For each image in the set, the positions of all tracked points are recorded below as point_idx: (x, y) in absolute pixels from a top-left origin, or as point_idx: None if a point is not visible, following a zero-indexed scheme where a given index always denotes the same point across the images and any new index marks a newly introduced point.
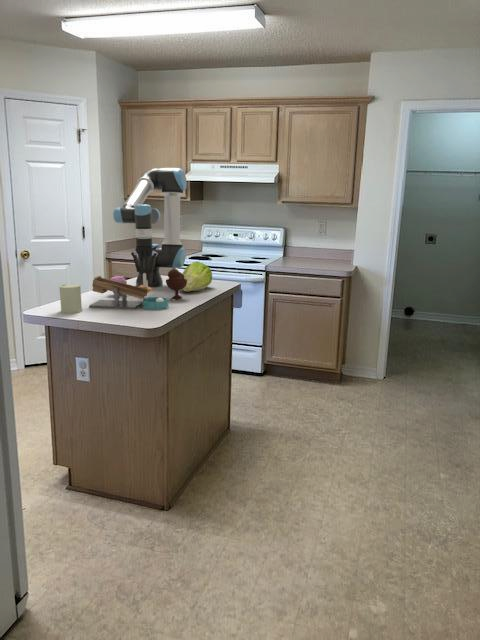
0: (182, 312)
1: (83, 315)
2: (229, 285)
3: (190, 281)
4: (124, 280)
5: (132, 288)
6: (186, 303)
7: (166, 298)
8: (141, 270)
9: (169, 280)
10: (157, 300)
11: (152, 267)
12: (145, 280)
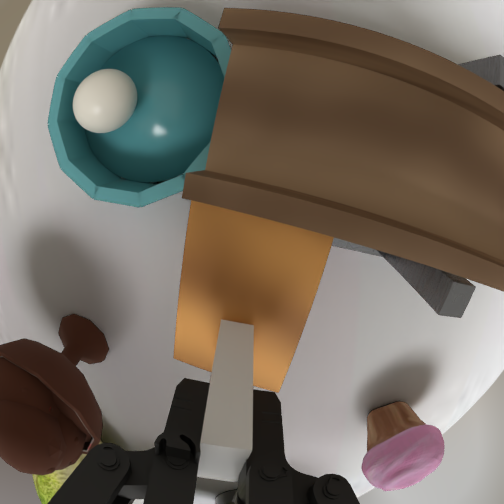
0: (28, 19)
1: (499, 4)
2: None
3: None
4: (380, 467)
5: (369, 213)
6: (14, 221)
7: (59, 153)
8: (274, 498)
9: (71, 421)
10: (113, 72)
11: (53, 497)
12: (219, 371)
